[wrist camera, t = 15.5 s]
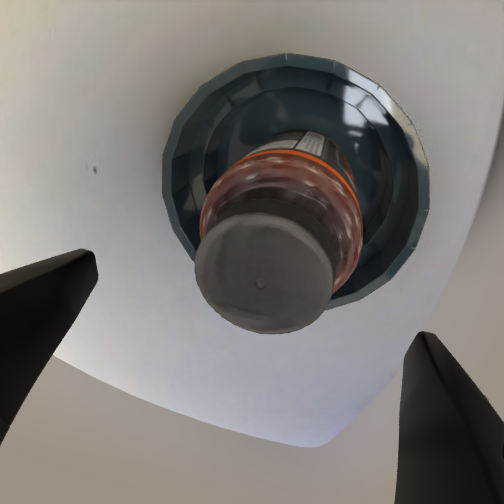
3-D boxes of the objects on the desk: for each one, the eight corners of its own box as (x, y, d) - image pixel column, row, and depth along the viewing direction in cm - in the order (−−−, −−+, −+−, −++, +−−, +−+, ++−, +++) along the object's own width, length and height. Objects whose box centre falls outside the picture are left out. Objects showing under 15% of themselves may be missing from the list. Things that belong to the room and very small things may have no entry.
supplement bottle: (357, 218, 19) (369, 360, 9) (264, 226, 20) (196, 357, 11) (345, 120, 16) (363, 166, 6) (244, 135, 18) (135, 198, 8)
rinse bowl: (427, 93, 14) (458, 96, 10) (375, 283, 21) (380, 331, 17) (207, 55, 16) (168, 48, 12) (195, 242, 23) (164, 280, 19)
